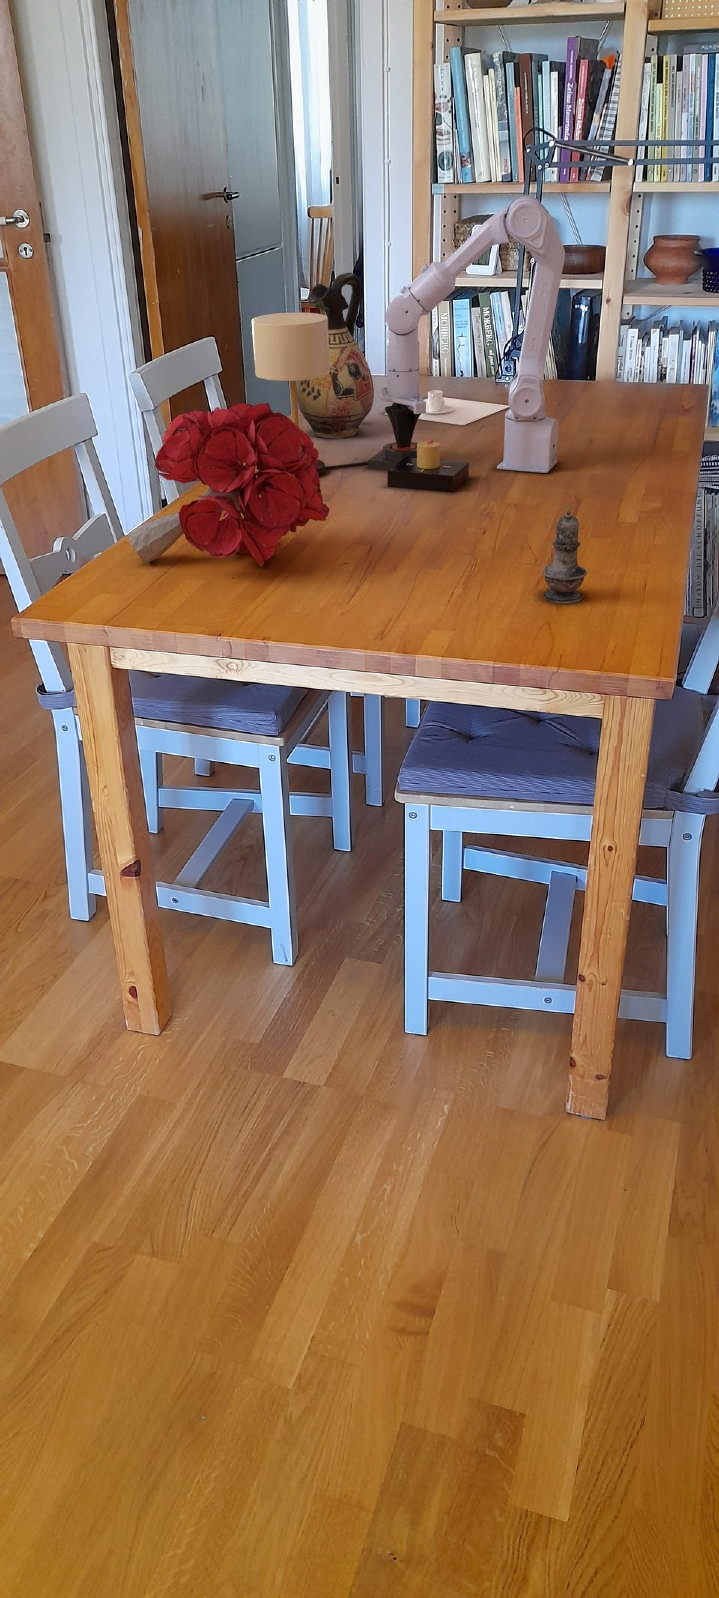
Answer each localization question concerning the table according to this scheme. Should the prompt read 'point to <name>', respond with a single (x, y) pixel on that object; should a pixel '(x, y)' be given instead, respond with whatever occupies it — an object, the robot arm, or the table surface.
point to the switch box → (390, 457)
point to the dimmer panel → (428, 476)
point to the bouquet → (236, 483)
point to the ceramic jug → (338, 367)
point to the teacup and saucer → (456, 409)
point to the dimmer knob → (428, 454)
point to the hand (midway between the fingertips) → (403, 446)
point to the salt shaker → (565, 564)
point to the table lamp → (293, 354)
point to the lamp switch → (404, 447)
